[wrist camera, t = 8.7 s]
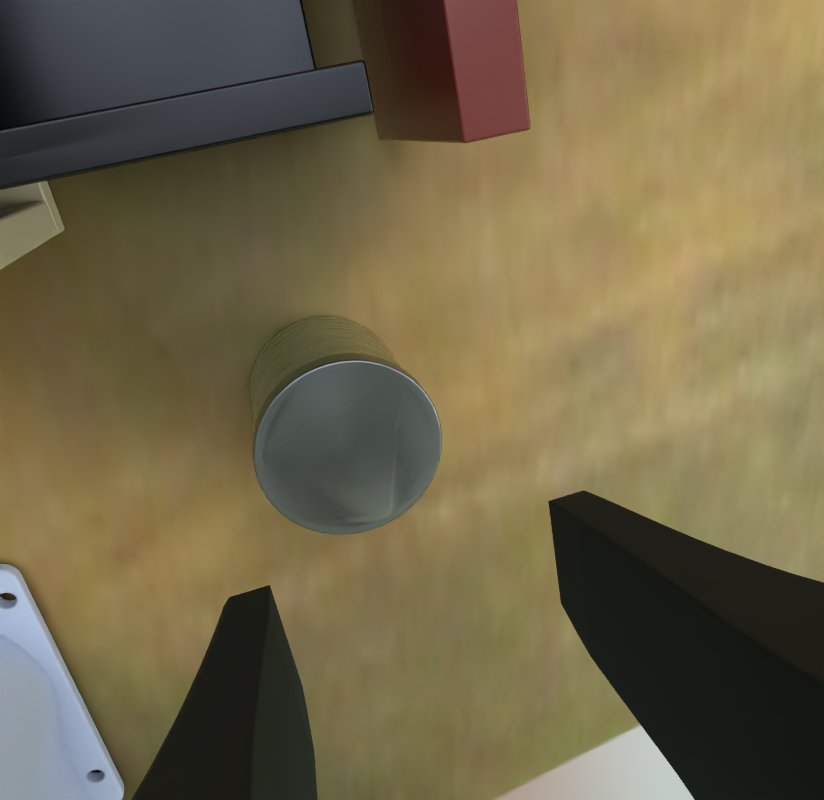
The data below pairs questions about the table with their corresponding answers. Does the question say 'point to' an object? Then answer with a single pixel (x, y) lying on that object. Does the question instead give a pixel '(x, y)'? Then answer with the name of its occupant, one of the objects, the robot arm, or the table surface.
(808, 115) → the table surface
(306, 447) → the tin
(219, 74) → the drawer
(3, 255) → the cabinet
